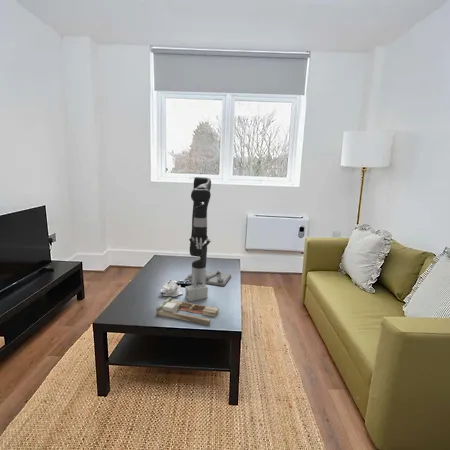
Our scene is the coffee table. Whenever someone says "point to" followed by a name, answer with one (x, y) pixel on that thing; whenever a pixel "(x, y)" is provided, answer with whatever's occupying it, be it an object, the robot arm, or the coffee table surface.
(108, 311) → the coffee table surface
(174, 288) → the lotus flower
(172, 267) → the coffee table surface
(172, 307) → the cream block
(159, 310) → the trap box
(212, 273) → the grey board with linkage
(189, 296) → the supplement box
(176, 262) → the coffee table surface
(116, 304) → the coffee table surface
